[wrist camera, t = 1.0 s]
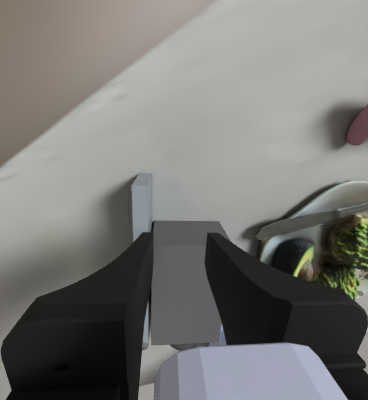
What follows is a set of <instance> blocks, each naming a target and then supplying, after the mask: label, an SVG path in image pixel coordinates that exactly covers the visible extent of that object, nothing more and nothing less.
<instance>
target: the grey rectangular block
mask: <svg viewBox="0 0 368 400" xmlns="http://www.w3.org/2000/svg"><path fill="white" fill-rule="evenodd" d="M153 232H154V254H153V277H152V297H151V345H169V344H170V345H171V346H172V347H173V348H175V349H177V350H180V351H182V350H186V349H190V348H194V347H195V346H196V345H197V344H198V343H212V342H219V339H220V332H221V325H222V322H221V319H220V315H219V312H218V309H217V306H216V303H215V300H214V297H213V294H212V291H211V288H210V285H209V282H208V279H207V274H206V269H205V263H204V261H205V251H206V241H207V233H219V234H221V235H222V236H224V237H225V238H226V239H228V240H229V241H230V239H229V238H228V236H227V234H226V233H225V231H224V229H223V228H222V226H221V224H220V222H214V221H155V222H154V229H153ZM230 242H231V241H230Z"/></svg>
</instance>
